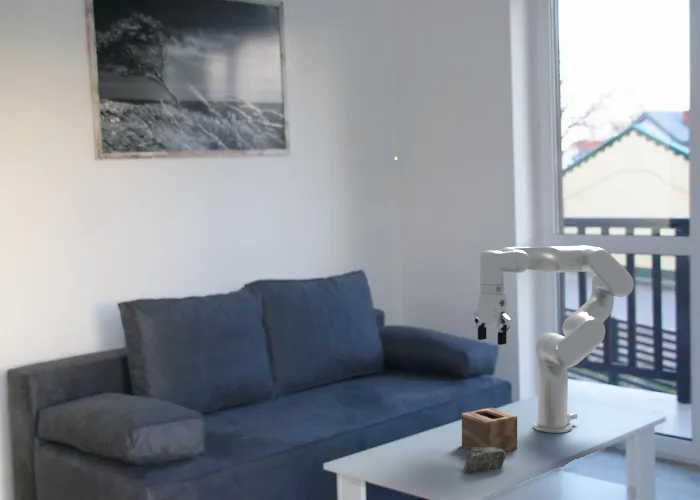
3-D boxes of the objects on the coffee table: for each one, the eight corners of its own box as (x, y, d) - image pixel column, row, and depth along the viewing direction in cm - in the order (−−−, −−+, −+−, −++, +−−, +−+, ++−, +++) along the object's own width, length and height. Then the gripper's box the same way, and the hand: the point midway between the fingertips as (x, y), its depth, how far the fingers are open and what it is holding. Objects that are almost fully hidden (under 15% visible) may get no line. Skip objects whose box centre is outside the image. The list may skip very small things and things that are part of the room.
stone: (483, 474, 269) (499, 444, 269) (498, 486, 263) (513, 455, 262) (450, 462, 262) (466, 431, 262) (464, 474, 256) (480, 442, 255)
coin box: (491, 438, 290) (491, 407, 289) (517, 448, 280) (517, 416, 279) (461, 445, 284) (461, 413, 283) (486, 455, 274) (487, 422, 273)
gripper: (519, 291, 286) (519, 344, 287) (483, 285, 300) (483, 336, 302) (501, 293, 282) (500, 347, 283) (465, 287, 296) (465, 339, 298)
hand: (491, 341), depth 293 cm, fingers open, 9 cm apart
